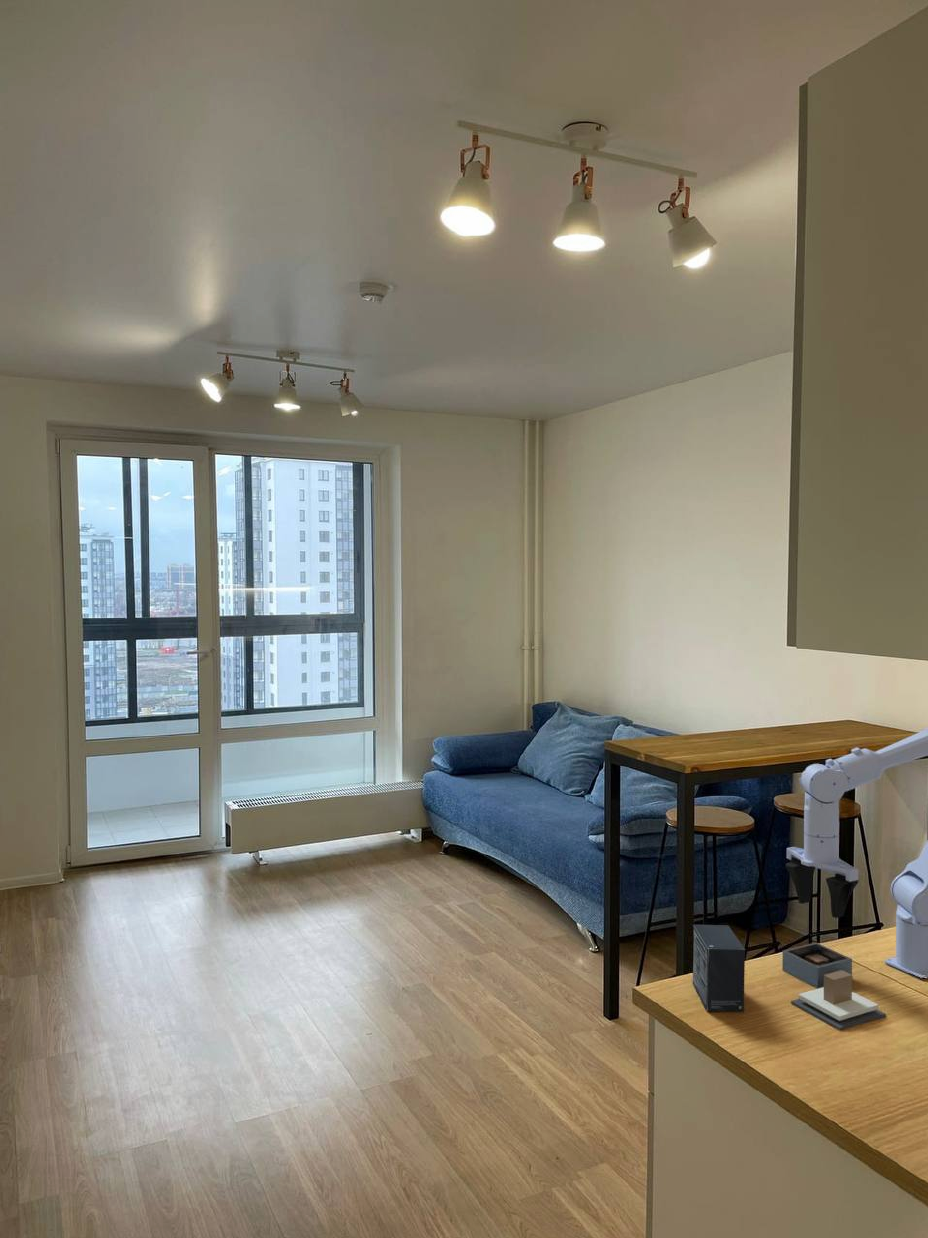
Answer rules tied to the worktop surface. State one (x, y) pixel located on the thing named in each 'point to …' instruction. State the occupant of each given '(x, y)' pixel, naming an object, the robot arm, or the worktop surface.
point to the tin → (814, 963)
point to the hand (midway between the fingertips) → (820, 909)
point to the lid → (838, 997)
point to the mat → (834, 1022)
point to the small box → (718, 968)
